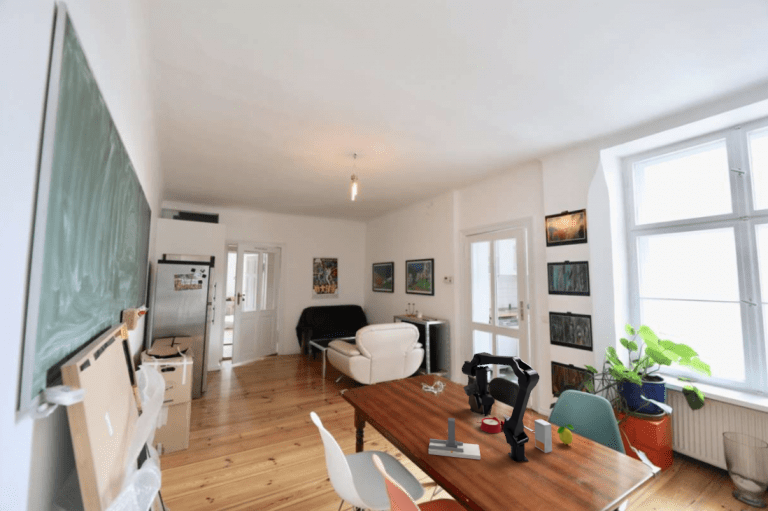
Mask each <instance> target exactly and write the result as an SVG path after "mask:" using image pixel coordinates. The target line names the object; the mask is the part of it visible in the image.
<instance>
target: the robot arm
mask: <svg viewBox="0 0 768 511" xmlns="http://www.w3.org/2000/svg"><path fill="white" fill-rule="evenodd" d="M489 365H495V366H496V365H497V366H509V367H511V369H512V371H513V374H514V375H515V377H516V378H517V385H518V390H517V394H516V398H515V402H514V406H513V408H512V413H511V416H509V417H508V416H507V418H504V425H503V426H502V427H504V428H503V429H502V432H503V434H504V438H505V441H506V443H507V445H509V447H510V452H507V456H509V458H510V459H511V460H512V461H513V462H529V459H528V458H527V456H526V449H525V448H526V446H525V444H526V443H529V440H530V437H529V436H528V435H527V433H526V431H525V430H524V428H525V427H524V426H525V424H524V417H525V413H526V410H527V407H528V403H529V399H530V396H531V393H532V391H533V390H534V388H535V387H536V386H537V384H538V383H539V380H540V375H539V373H538V371H537V370H536V369H534V368H533V367H532V366H531V365H530V364H528V363H527V362H526V361H523V360H522V359H521V357H519V356H518V355H514V356H510V355H494V354H492V353H489V352H485V351H484V352H478V353H474V354H473V357H472V359H471V361H470V360H465V361H464V363H463V364H462V367H461V373H462V374H463V375H466V376H468V375H469V376H472V377H475V380H474V383H473V384H470V385H468V384H467V385H465V386H463V391H464V392H465V394H466V396H467V397H469V396H471V395H472V394H473V395H474V396H475V399H476V403H477V407H478V409H480V408H481V404H482V406H483V413H484V415H483V416H484V417H487V416H488V415H487V414H488V412H489V410H490V408H491V407H492V408H493V405H495V403H496V402H495V401H496V399H495V398H494V397H493V396H492V395H491V394H490V395H486V394H489V391H488V385H489V386H490V382H489V378H488V375H489V374H488V373H489V372H492V369H491V368H490V366H489Z"/></svg>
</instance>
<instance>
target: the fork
mask: <svg viewBox="0 0 768 511" xmlns="http://www.w3.org/2000/svg"><path fill="white" fill-rule="evenodd" d="M502 416H503V417H504V419H506V418H508V417H510V416H509V415H507V414H506V413H505V414H502ZM524 428H525V429H527V430H528V431H530V432H532V431H534V430H533V429H531V428H530V427H527V426H526V425H524Z"/></svg>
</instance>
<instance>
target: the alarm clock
mask: <svg viewBox="0 0 768 511" xmlns="http://www.w3.org/2000/svg"><path fill="white" fill-rule="evenodd" d="M476 424H481V425H480V426H479V427H480V430H481V431H482V432H485V433H490V434H499V433H501V432H502V430H503V428H504V427H502V426H503V425H504V421H503V420H499V418H497V417H495V416H493V417H483V418H481V421H480V422H478V421H477V422H476Z"/></svg>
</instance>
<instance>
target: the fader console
mask: <svg viewBox="0 0 768 511" xmlns="http://www.w3.org/2000/svg"><path fill="white" fill-rule="evenodd" d="M446 440H447V439H436V438H429V445H428V455H435V456H436V455H437V456H443V457H454V458H461V459H462V458H463V459H470V460H471V459H472V460H479V461H480V460H481V452H480V445H479V444H476V443H475V444H474V443H464V441H458V440H456V441H457V448H454V447H446Z"/></svg>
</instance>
